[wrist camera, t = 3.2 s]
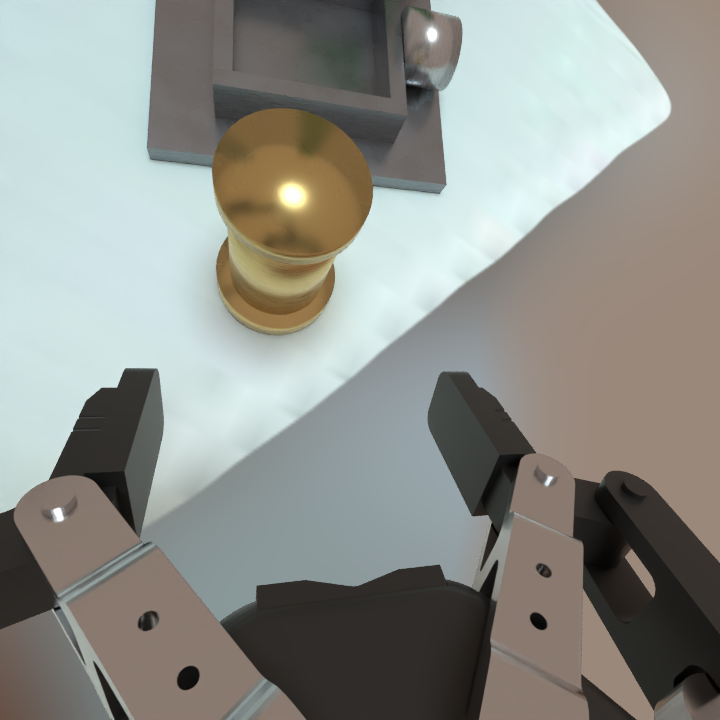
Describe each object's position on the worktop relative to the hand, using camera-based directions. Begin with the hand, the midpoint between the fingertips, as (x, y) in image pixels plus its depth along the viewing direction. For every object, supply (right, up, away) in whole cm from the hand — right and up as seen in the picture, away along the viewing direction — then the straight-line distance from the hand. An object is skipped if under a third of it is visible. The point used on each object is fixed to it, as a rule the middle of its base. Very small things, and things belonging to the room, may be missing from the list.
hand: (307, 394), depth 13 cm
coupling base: (-2, +20, +16) cm, 26 cm away
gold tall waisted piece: (-3, +6, +13) cm, 14 cm away
